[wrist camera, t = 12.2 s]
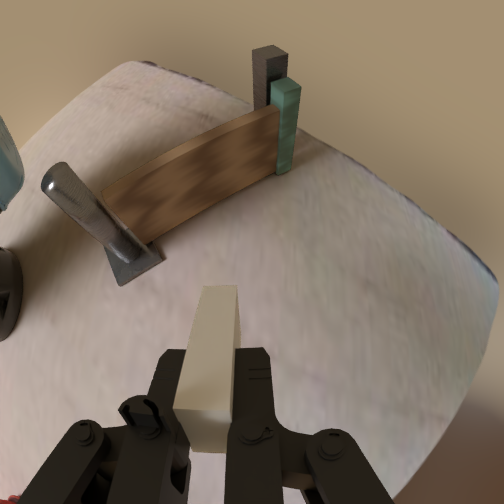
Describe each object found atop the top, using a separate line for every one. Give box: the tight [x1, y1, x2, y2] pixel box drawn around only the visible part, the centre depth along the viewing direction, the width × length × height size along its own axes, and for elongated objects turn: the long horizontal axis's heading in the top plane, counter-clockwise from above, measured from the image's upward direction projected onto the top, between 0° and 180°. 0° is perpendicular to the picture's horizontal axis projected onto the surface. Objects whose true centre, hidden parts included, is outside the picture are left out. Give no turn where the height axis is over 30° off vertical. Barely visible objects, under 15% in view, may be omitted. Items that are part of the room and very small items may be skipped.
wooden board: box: [101, 77, 301, 245], centre depth 27 cm, size 20×2×13 cm, turn 122°
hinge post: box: [41, 162, 163, 287], centre depth 24 cm, size 6×6×16 cm
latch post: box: [252, 45, 288, 111], centre depth 28 cm, size 2×2×16 cm
